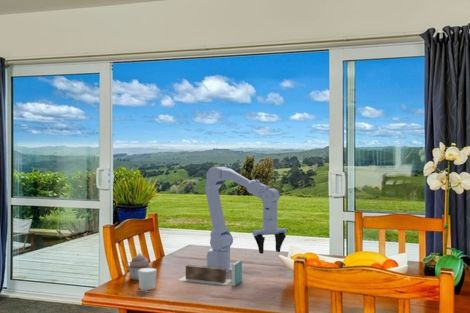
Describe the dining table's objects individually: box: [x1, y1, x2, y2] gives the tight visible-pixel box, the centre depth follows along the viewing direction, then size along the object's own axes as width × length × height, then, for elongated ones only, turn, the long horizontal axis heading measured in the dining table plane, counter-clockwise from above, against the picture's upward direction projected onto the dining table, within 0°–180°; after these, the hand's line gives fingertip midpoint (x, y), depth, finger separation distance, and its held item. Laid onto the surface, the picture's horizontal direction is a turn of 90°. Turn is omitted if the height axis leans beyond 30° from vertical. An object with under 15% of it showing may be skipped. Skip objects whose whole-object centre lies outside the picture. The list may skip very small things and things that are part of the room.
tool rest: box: [178, 275, 232, 286], centre depth 184 cm, size 20×8×1 cm, turn 70°
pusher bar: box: [185, 264, 227, 283], centre depth 184 cm, size 16×2×5 cm, turn 70°
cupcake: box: [127, 253, 152, 281], centre depth 187 cm, size 9×9×10 cm
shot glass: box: [138, 267, 158, 292], centre depth 173 cm, size 7×7×7 cm
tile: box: [231, 260, 243, 287], centre depth 179 cm, size 2×7×8 cm, turn 160°
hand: (269, 252), depth 189 cm, fingers open, 7 cm apart
